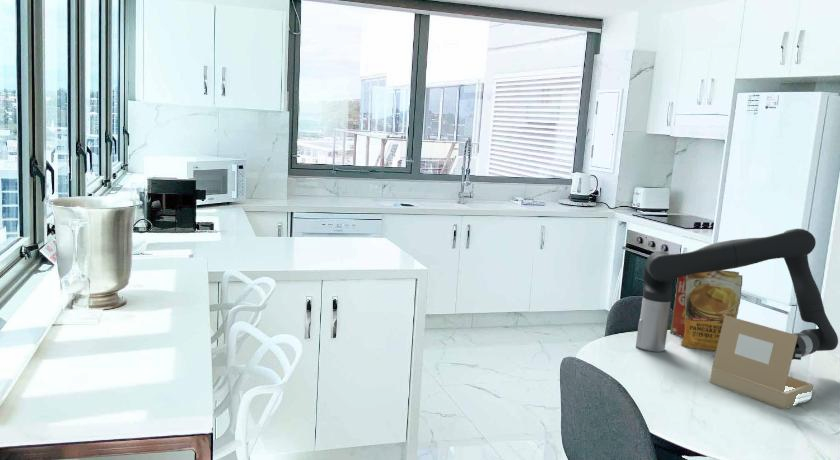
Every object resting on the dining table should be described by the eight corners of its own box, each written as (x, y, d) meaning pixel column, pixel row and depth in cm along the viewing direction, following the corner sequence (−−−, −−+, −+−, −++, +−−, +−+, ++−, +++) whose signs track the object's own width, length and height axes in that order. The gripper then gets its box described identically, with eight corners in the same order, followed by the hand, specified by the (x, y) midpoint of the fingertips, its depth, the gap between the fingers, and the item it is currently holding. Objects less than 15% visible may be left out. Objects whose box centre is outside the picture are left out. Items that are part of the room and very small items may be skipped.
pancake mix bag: (674, 341, 249) (685, 264, 245) (731, 349, 245) (743, 271, 241) (677, 346, 243) (688, 268, 239) (735, 354, 239) (747, 274, 235)
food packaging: (668, 333, 260) (677, 267, 256) (678, 329, 267) (687, 265, 263) (704, 342, 251) (714, 274, 247) (714, 338, 258) (723, 272, 254)
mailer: (738, 374, 218) (740, 360, 217) (811, 399, 200) (813, 384, 199) (709, 382, 208) (712, 367, 207) (783, 409, 191) (786, 393, 190)
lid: (725, 315, 206) (724, 315, 206) (797, 335, 189) (797, 335, 189) (712, 367, 207) (711, 367, 206) (783, 392, 190) (783, 392, 190)
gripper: (774, 328, 217) (745, 334, 207) (818, 340, 207) (790, 347, 197) (770, 351, 218) (741, 358, 208) (814, 364, 208) (786, 373, 198)
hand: (765, 353), depth 202 cm, fingers closed
